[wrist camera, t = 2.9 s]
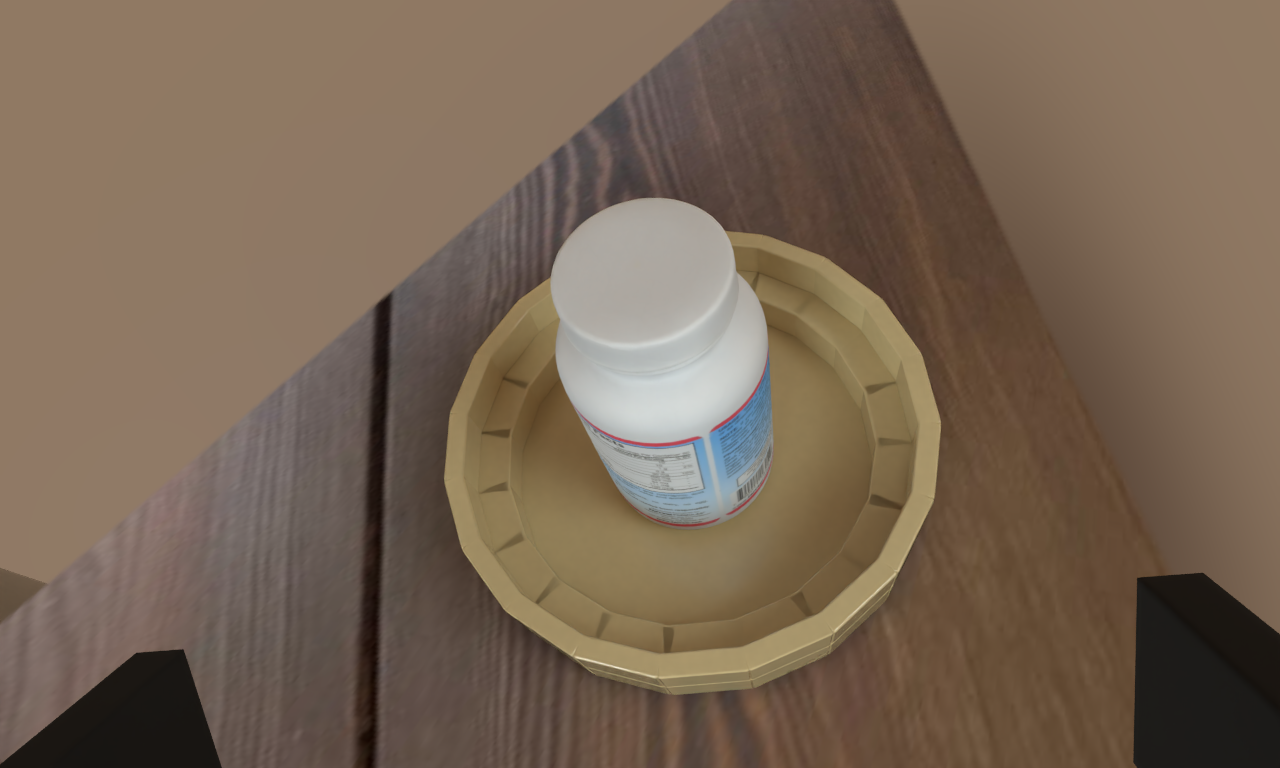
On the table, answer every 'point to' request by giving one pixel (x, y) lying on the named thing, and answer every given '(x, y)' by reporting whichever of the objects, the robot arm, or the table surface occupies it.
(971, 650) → the table surface
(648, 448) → the pill bottle
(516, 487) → the beige shallow round dish
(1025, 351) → the table surface
